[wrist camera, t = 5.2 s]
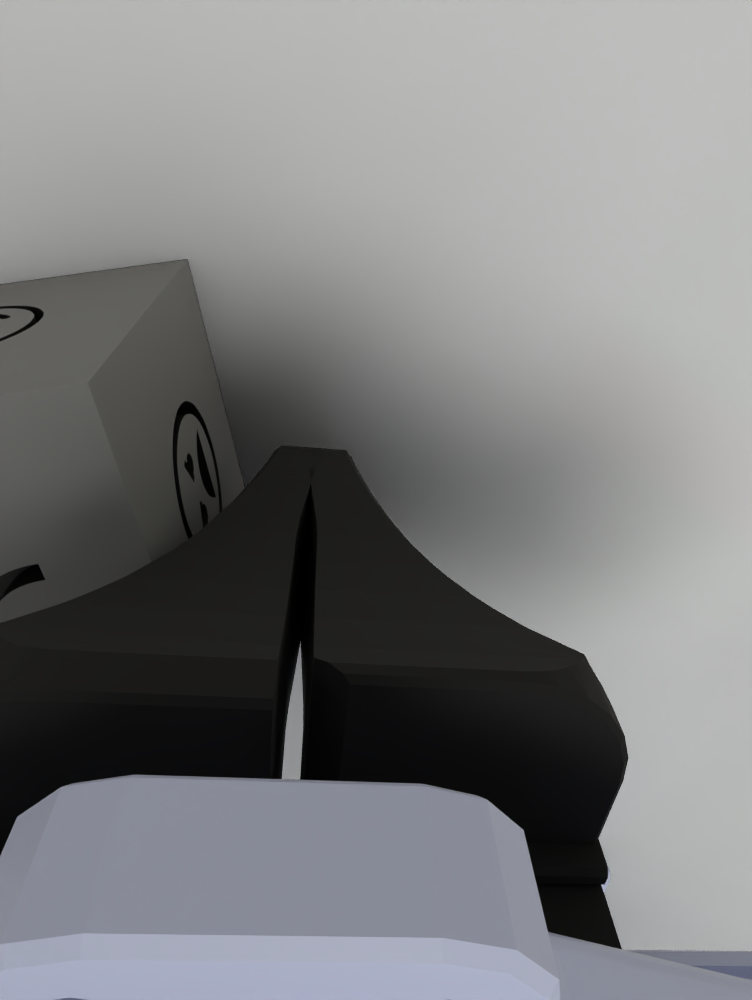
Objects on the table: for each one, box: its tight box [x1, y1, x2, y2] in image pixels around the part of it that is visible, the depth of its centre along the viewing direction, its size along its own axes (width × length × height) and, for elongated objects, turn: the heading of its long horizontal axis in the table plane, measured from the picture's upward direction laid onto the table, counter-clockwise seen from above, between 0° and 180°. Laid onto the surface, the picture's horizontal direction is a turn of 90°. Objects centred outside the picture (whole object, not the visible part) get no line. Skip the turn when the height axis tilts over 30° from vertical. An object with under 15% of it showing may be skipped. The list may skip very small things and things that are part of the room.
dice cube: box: [0, 260, 245, 623], centre depth 10 cm, size 5×5×5 cm
